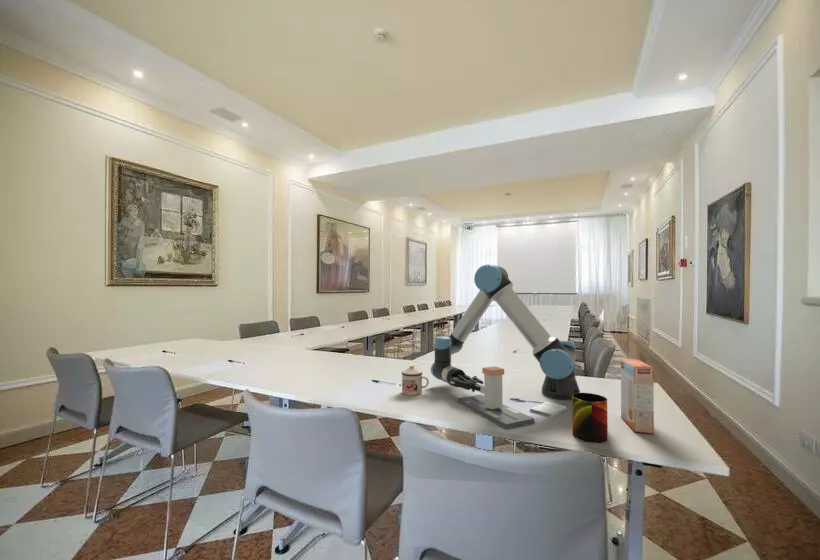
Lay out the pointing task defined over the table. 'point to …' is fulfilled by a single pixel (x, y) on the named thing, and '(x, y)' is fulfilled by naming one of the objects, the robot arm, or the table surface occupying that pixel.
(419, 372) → the teacup with lid
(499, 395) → the fader lever
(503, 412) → the fader console
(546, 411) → the external hard drive
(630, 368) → the cracker box
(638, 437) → the table surface
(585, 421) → the mug
